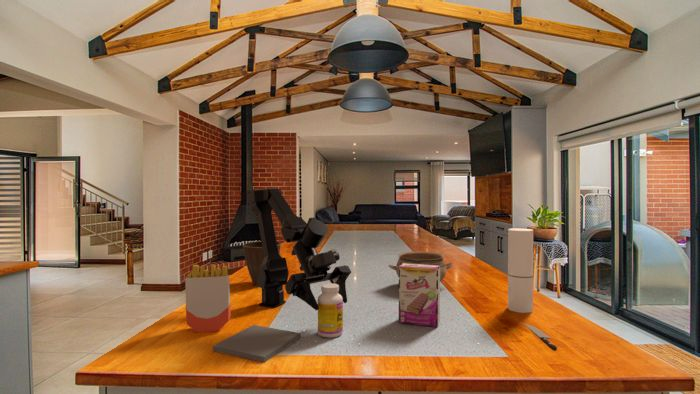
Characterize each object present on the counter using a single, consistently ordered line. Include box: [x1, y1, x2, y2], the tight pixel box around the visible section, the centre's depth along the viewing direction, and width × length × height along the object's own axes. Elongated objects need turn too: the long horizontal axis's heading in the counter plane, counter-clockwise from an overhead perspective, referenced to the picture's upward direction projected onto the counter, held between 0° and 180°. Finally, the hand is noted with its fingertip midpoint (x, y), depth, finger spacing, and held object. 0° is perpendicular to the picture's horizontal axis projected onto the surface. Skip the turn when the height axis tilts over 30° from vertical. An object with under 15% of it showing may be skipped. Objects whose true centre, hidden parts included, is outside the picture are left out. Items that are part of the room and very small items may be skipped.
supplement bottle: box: [317, 282, 344, 339], centre depth 101 cm, size 7×7×13 cm
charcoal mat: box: [212, 324, 301, 363], centre depth 95 cm, size 15×15×1 cm
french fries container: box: [184, 264, 232, 333], centre depth 105 cm, size 5×11×18 cm, turn 99°
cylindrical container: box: [507, 227, 534, 314], centre depth 119 cm, size 7×7×25 cm
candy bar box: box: [398, 263, 441, 328], centre depth 108 cm, size 11×5×16 cm, turn 71°
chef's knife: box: [524, 323, 558, 351], centre depth 100 cm, size 19×1×3 cm
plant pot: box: [242, 240, 282, 286], centre depth 154 cm, size 15×15×16 cm
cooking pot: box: [388, 250, 453, 283], centre depth 147 cm, size 25×19×12 cm
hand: (332, 305), depth 100 cm, fingers open, 9 cm apart
